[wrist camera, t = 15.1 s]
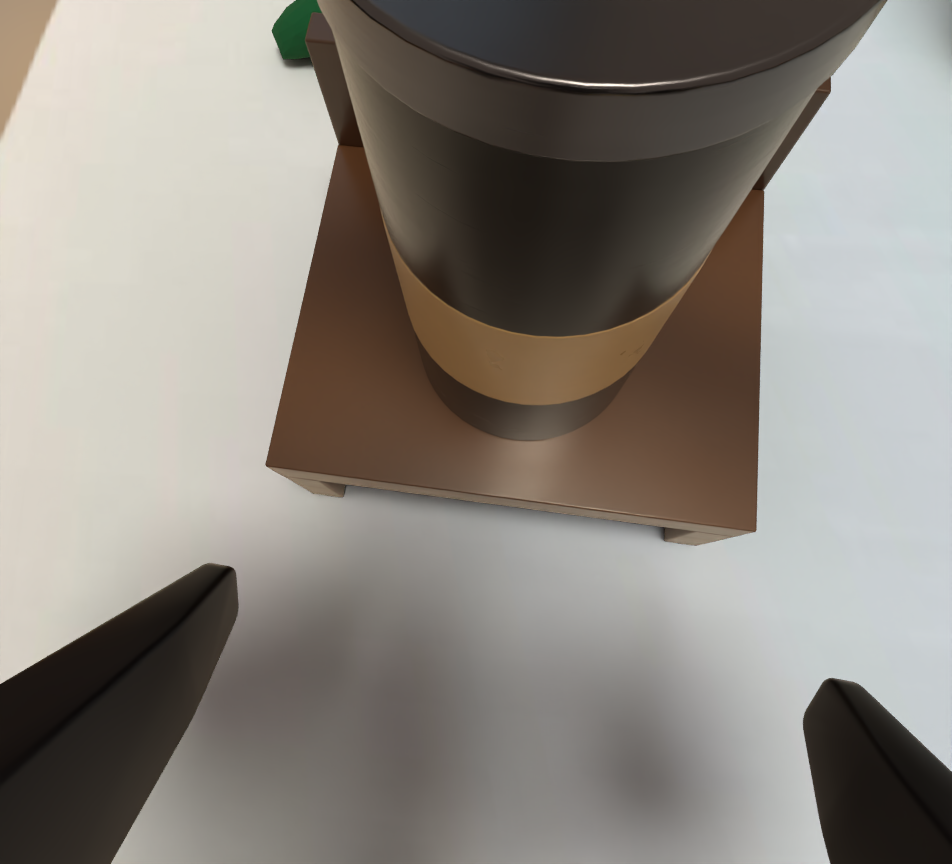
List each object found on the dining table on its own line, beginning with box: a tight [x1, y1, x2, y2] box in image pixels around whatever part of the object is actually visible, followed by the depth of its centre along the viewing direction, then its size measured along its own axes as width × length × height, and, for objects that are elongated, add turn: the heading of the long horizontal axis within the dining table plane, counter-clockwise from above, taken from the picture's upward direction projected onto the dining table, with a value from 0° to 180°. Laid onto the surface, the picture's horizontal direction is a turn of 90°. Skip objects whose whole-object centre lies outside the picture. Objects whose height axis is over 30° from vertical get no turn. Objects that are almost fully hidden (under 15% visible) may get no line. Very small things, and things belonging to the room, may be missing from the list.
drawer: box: [266, 12, 831, 546], centre depth 20 cm, size 12×14×9 cm
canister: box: [317, 0, 887, 441], centre depth 12 cm, size 7×7×13 cm
